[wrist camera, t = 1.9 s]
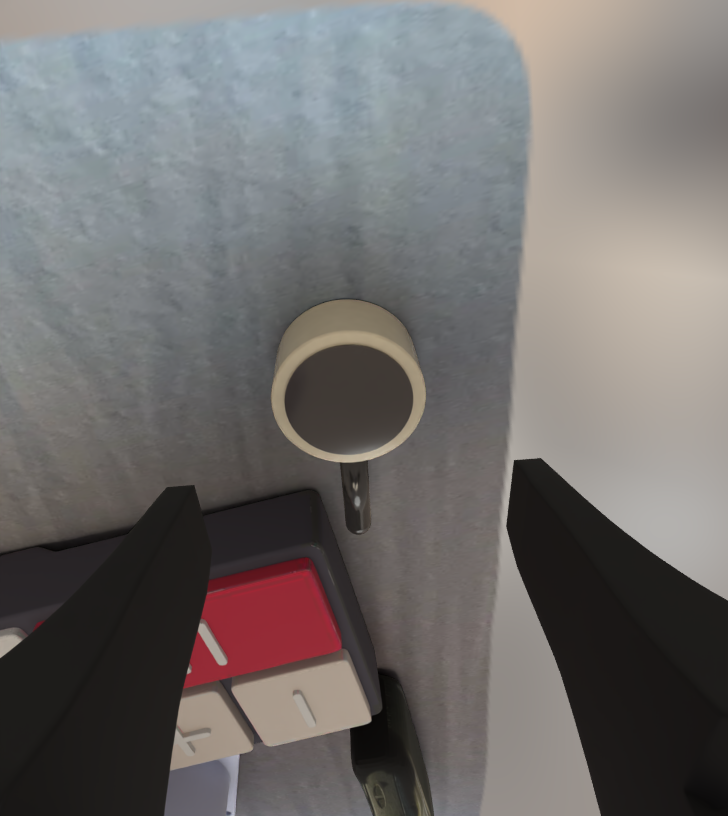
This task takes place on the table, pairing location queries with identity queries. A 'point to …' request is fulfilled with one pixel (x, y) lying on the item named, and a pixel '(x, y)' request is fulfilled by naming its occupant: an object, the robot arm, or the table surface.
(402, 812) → the mobile phone
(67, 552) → the calculator
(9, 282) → the table surface
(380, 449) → the pan
